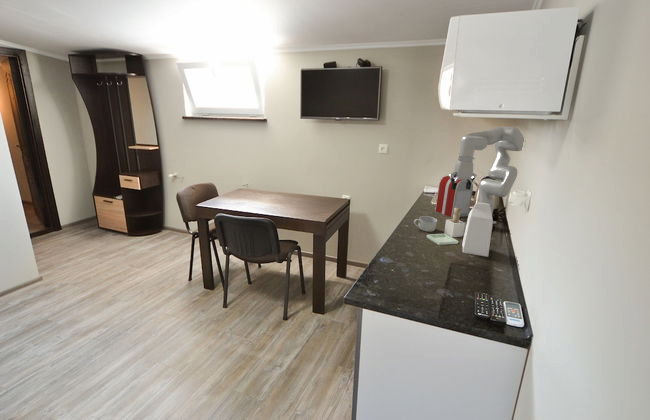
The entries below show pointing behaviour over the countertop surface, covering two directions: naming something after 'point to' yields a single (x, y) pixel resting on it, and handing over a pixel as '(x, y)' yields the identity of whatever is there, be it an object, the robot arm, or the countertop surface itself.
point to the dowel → (456, 215)
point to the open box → (454, 228)
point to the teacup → (426, 223)
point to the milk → (478, 230)
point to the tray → (442, 239)
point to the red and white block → (453, 197)
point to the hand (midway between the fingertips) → (460, 189)
